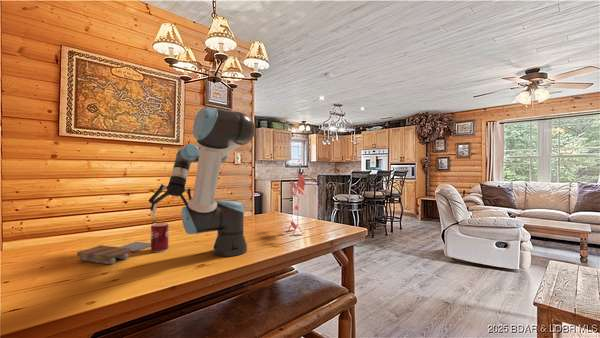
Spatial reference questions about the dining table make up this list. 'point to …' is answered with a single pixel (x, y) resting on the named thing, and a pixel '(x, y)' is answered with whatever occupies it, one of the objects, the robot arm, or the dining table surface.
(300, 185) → the figurine
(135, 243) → the mat
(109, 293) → the dining table surface
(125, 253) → the slab on rollers
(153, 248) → the soda can
